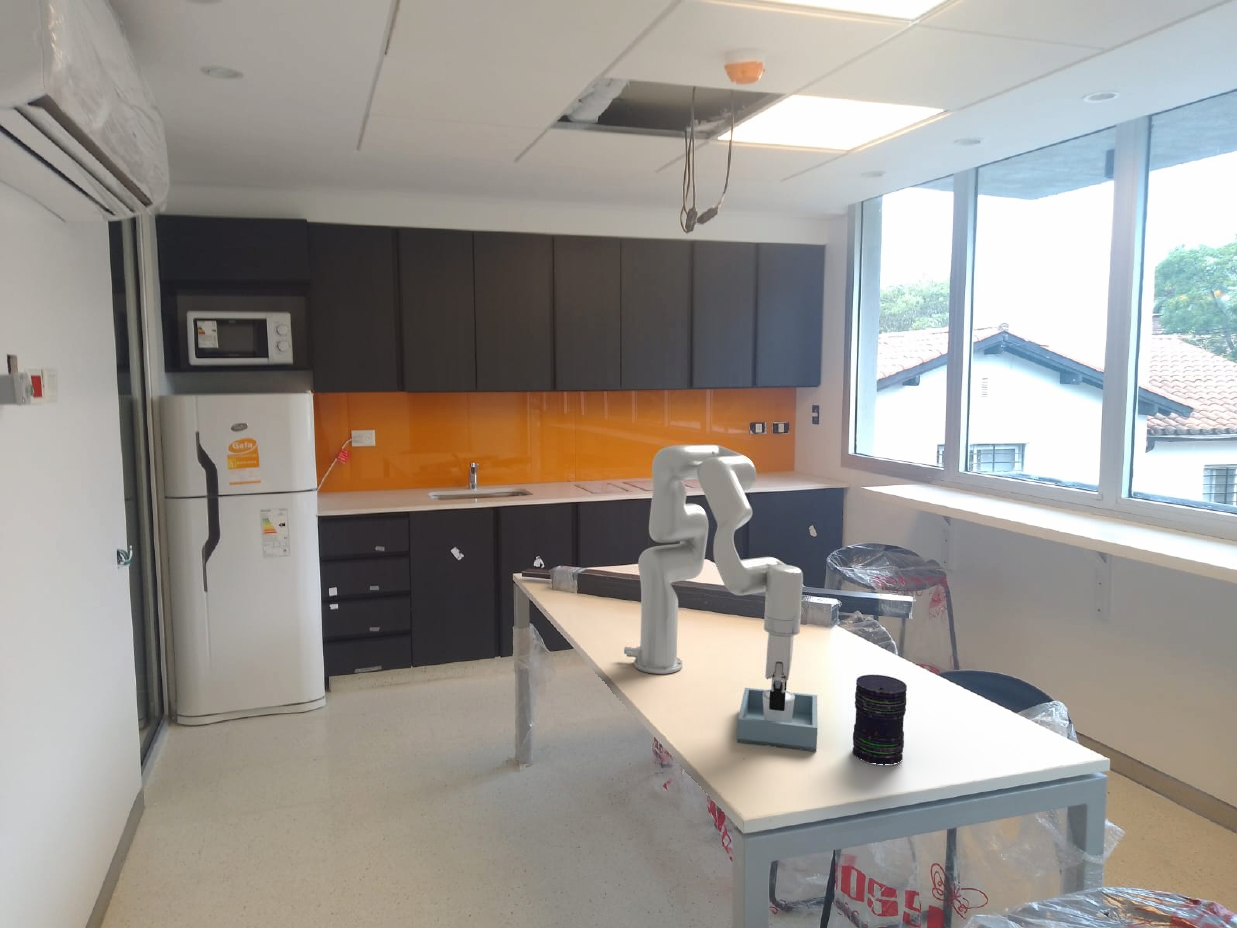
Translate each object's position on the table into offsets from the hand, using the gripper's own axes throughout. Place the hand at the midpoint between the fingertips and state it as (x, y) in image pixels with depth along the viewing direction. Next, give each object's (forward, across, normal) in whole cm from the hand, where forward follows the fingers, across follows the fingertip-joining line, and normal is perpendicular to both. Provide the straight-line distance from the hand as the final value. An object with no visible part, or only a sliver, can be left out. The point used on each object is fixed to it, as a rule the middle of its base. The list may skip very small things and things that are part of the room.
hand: (777, 700), depth 179 cm
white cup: (+6, +1, 0) cm, 6 cm away
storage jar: (+6, +7, +20) cm, 23 cm away
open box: (+6, 0, 0) cm, 6 cm away
